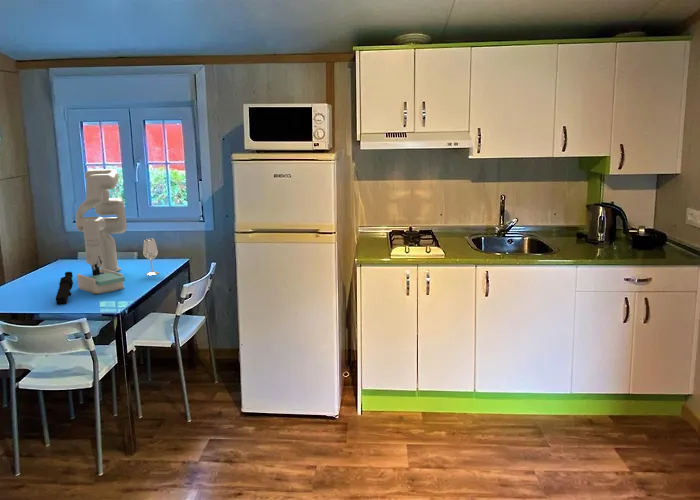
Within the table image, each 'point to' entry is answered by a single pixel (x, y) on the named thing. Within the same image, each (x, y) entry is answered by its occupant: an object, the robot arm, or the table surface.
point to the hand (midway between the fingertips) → (96, 276)
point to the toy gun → (64, 288)
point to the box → (91, 286)
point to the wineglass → (150, 253)
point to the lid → (107, 278)
